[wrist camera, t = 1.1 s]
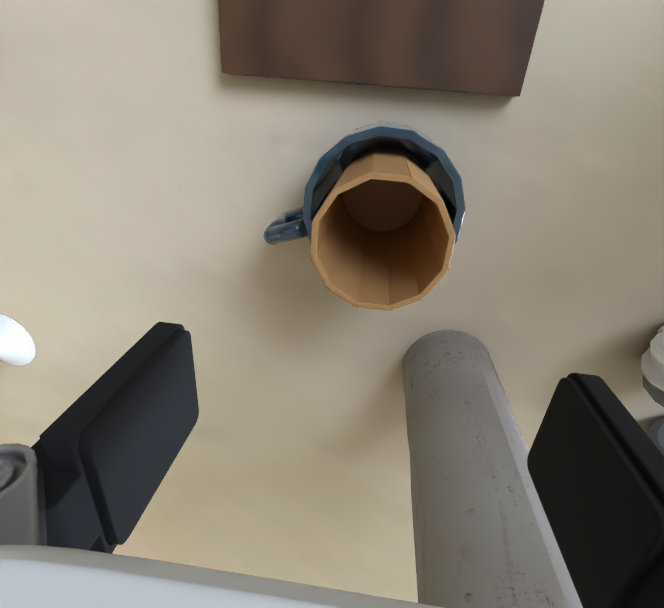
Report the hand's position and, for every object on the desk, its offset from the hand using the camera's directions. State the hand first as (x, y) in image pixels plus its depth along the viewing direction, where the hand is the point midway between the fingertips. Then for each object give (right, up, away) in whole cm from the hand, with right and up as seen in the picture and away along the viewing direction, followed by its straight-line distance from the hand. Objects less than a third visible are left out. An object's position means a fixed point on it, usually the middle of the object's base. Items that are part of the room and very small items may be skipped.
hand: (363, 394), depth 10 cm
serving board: (+2, +22, +15) cm, 27 cm away
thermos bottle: (+10, -3, +27) cm, 29 cm away
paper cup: (+3, +11, +20) cm, 23 cm away
